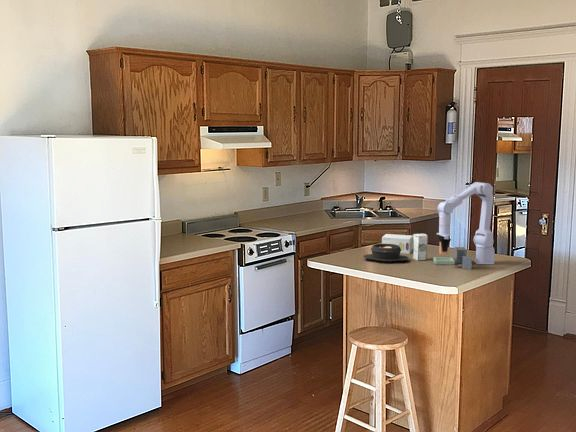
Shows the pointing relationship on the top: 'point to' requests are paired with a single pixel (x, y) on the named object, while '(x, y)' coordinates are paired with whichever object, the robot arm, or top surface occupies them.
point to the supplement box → (400, 242)
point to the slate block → (466, 262)
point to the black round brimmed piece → (386, 253)
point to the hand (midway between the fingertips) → (443, 250)
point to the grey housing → (459, 254)
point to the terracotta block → (442, 251)
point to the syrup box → (420, 247)
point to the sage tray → (443, 261)
